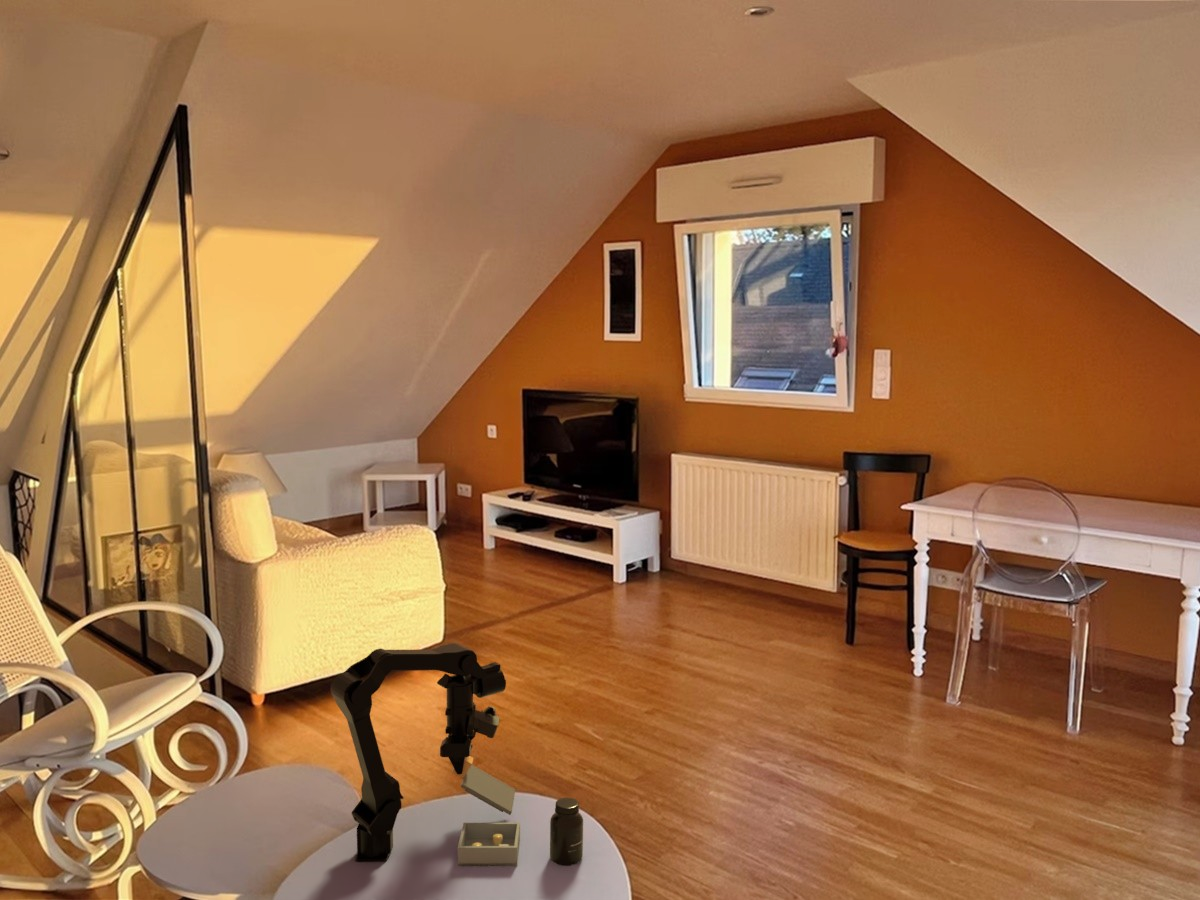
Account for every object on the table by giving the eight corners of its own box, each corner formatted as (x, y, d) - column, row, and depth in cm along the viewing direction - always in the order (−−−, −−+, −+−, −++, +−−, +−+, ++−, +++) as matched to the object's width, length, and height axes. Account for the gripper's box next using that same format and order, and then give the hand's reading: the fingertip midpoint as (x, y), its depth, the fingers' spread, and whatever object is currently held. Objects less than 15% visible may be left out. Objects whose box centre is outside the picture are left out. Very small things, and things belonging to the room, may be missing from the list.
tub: (457, 866, 192) (457, 847, 191) (463, 840, 202) (463, 822, 201) (517, 866, 192) (517, 847, 192) (520, 840, 202) (520, 822, 201)
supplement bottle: (578, 869, 191) (579, 812, 190) (546, 865, 193) (546, 809, 191) (586, 851, 198) (586, 796, 197) (554, 847, 199) (554, 793, 198)
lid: (446, 784, 203) (458, 765, 202) (453, 762, 213) (464, 744, 213) (507, 818, 204) (519, 800, 204) (511, 795, 214) (522, 777, 214)
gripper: (492, 719, 197) (493, 790, 199) (500, 686, 216) (500, 752, 217) (439, 719, 197) (440, 790, 199) (451, 686, 215) (452, 752, 217)
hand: (460, 770), depth 208 cm, fingers closed on lid, 3 cm apart
